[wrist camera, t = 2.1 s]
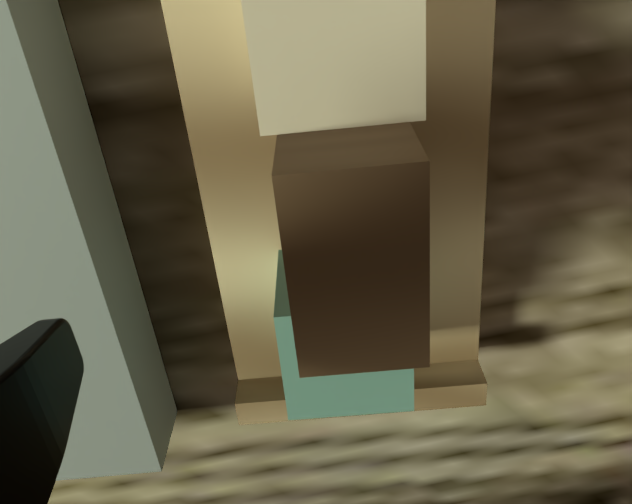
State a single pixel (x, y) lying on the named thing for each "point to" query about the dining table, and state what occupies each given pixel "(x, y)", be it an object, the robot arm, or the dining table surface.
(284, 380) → the block
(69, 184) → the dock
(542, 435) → the dining table surface
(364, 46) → the block
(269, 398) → the tray
